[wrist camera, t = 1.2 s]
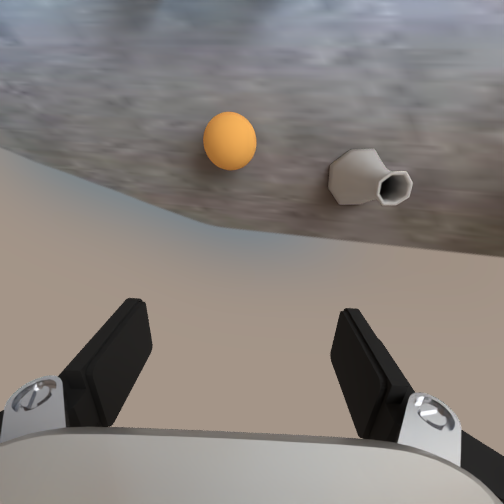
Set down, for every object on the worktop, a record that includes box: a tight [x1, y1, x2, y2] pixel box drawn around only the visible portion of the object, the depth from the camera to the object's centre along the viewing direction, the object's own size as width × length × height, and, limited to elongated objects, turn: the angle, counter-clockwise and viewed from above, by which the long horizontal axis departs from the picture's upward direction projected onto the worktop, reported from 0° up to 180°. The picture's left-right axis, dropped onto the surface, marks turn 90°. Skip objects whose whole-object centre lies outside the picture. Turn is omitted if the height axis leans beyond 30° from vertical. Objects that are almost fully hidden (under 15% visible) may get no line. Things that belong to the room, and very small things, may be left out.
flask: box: [328, 149, 413, 206], centre depth 26 cm, size 7×7×10 cm
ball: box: [203, 112, 256, 170], centre depth 27 cm, size 6×6×6 cm
